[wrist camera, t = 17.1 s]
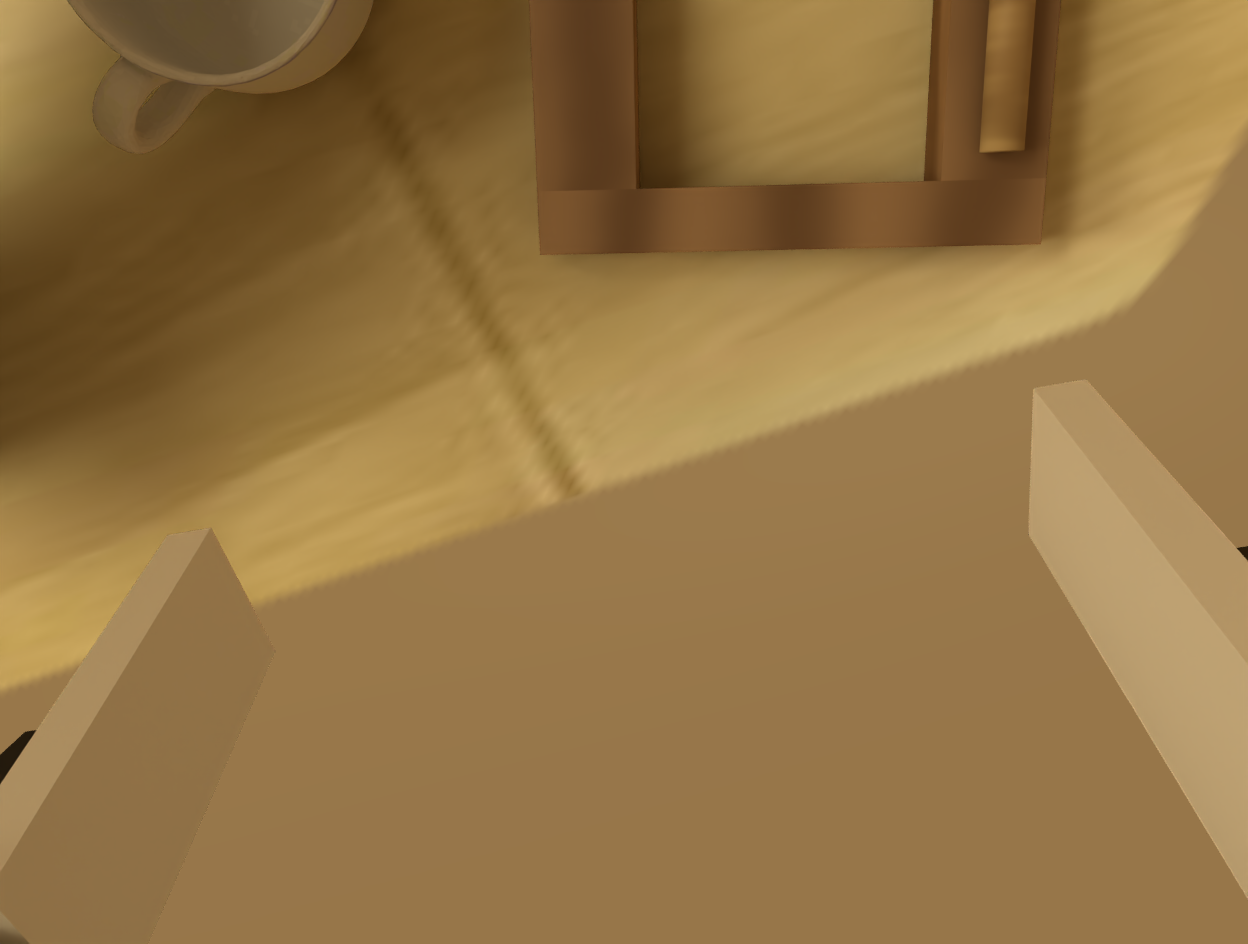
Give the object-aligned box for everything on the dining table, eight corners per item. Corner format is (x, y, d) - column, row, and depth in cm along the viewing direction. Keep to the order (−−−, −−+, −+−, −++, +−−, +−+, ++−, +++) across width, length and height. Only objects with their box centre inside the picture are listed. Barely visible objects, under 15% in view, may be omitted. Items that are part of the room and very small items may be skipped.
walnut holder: (550, 252, 43) (533, 256, 38) (532, -187, 38) (511, -240, 34) (1016, 242, 41) (1055, 245, 37) (1051, -215, 37) (1100, -275, 32)
